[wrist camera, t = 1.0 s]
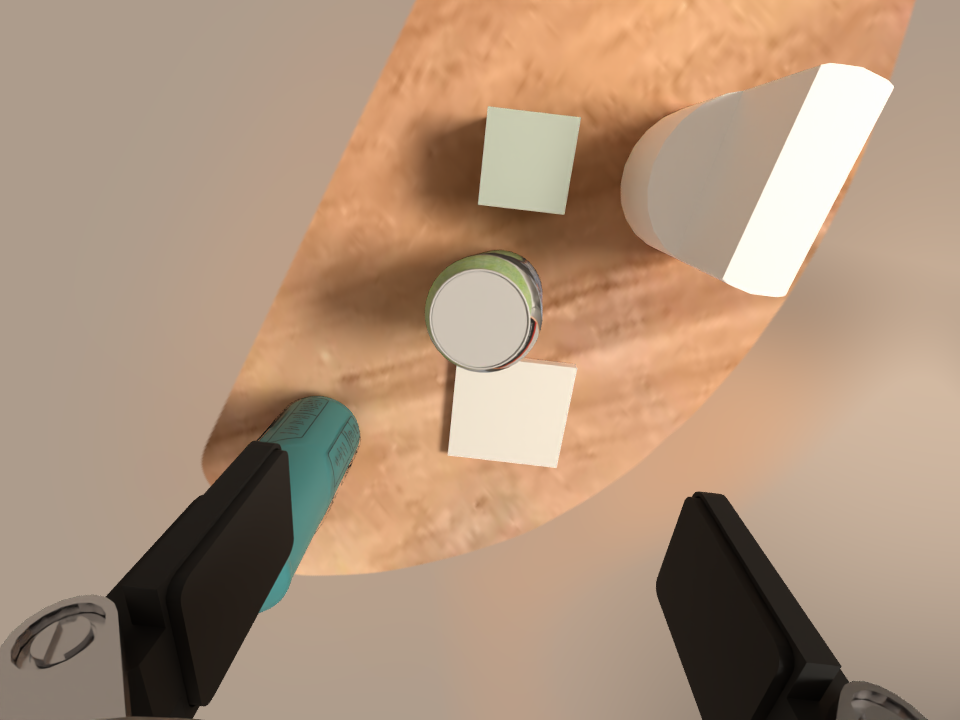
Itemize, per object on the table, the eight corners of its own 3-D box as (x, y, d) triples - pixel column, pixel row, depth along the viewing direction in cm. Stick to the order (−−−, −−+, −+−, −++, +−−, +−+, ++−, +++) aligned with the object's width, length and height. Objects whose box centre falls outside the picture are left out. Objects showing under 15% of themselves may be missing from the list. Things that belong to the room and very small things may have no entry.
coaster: (458, 350, 35) (457, 354, 34) (575, 363, 35) (577, 368, 34) (448, 449, 39) (447, 455, 38) (555, 462, 39) (556, 467, 38)
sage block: (489, 116, 29) (488, 106, 24) (567, 125, 29) (580, 117, 25) (481, 199, 31) (477, 204, 26) (554, 208, 31) (564, 214, 26)
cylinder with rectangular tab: (651, 88, 28) (750, 33, 17) (787, 127, 29) (970, 100, 18) (600, 234, 32) (656, 268, 20) (724, 267, 32) (843, 318, 21)
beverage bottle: (300, 372, 36) (94, 580, 18) (379, 402, 37) (261, 632, 19) (281, 437, 39) (83, 680, 20) (356, 464, 39) (231, 722, 21)
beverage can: (499, 345, 35) (498, 426, 24) (426, 278, 33) (389, 332, 22) (560, 286, 33) (591, 345, 22) (486, 212, 31) (480, 234, 20)
